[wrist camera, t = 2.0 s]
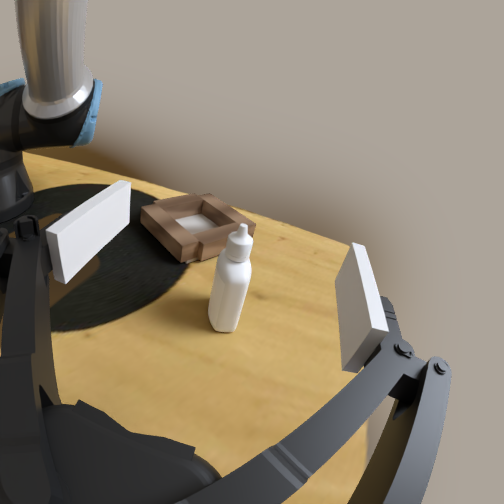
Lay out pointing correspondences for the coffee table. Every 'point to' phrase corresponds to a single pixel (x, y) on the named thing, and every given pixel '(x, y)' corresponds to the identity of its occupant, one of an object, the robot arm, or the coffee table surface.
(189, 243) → the socket block
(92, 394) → the coffee table surface
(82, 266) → the robot arm
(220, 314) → the eye dropper bottle
